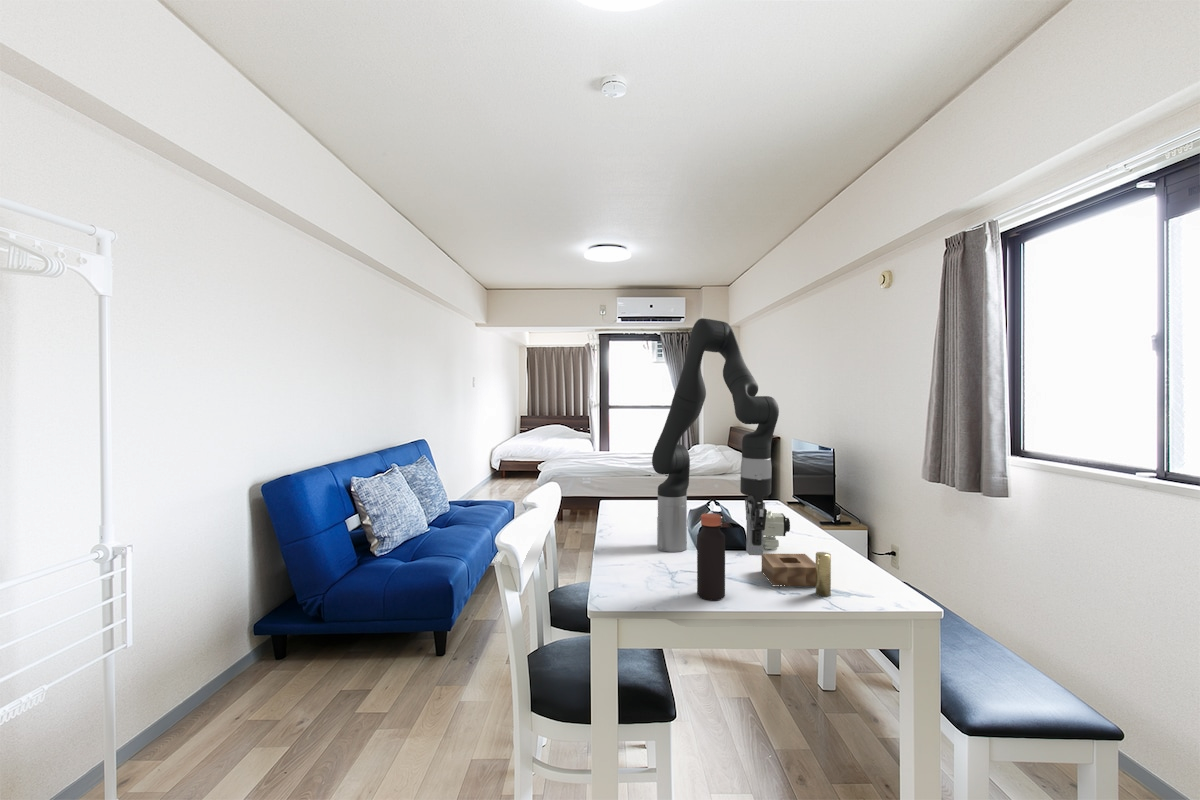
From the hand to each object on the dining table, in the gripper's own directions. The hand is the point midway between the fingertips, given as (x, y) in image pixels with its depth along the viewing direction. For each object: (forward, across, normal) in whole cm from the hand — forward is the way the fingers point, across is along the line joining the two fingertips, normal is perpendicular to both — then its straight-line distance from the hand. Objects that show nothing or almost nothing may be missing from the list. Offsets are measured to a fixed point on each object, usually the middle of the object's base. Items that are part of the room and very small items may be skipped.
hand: (754, 542), depth 142 cm
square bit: (+3, 0, 0) cm, 3 cm away
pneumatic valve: (+13, -37, +13) cm, 41 cm away
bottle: (+12, +4, -12) cm, 18 cm away
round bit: (+12, +2, +16) cm, 21 cm away
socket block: (+12, -9, +11) cm, 19 cm away
